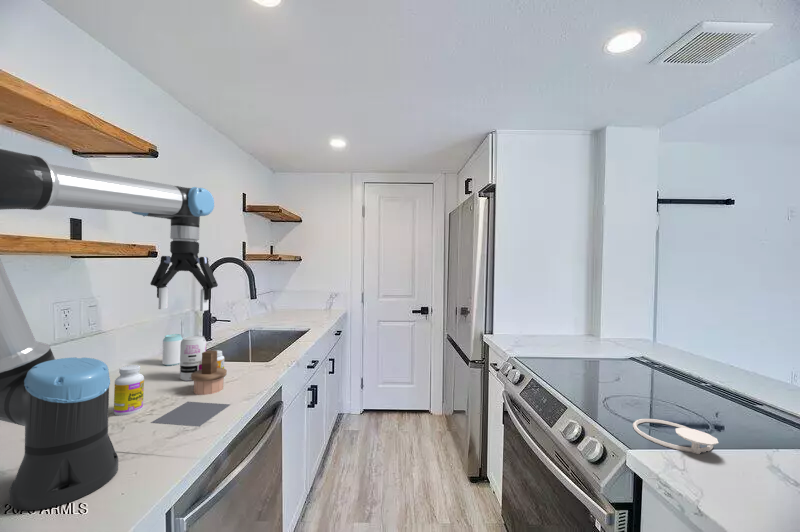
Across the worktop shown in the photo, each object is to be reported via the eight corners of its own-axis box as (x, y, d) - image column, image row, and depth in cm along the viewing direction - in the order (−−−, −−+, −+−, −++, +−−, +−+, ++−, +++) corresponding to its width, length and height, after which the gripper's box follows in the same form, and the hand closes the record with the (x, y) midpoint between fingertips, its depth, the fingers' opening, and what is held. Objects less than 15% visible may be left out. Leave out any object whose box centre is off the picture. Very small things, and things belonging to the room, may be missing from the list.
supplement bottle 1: (126, 418, 94) (127, 371, 94) (107, 415, 95) (108, 369, 95) (149, 408, 100) (150, 364, 100) (130, 405, 102) (131, 362, 101)
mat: (199, 427, 89) (199, 426, 89) (150, 424, 91) (150, 422, 91) (230, 405, 103) (230, 404, 103) (187, 402, 104) (187, 401, 104)
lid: (213, 382, 109) (214, 356, 109) (183, 380, 110) (184, 355, 110) (232, 372, 119) (233, 348, 119) (205, 370, 120) (205, 347, 120)
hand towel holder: (678, 408, 100) (748, 445, 79) (677, 423, 100) (747, 464, 79) (619, 406, 100) (674, 442, 80) (619, 420, 100) (673, 461, 80)
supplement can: (199, 372, 132) (200, 334, 132) (209, 377, 128) (210, 337, 127) (175, 378, 126) (176, 337, 126) (185, 383, 121) (186, 341, 121)
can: (186, 362, 145) (187, 334, 145) (172, 366, 139) (173, 337, 138) (172, 360, 147) (173, 333, 147) (158, 365, 140) (158, 336, 140)
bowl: (212, 396, 110) (213, 381, 110) (187, 394, 111) (188, 379, 111) (228, 386, 118) (228, 372, 118) (205, 385, 119) (205, 371, 119)
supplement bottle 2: (203, 381, 123) (204, 353, 123) (212, 376, 129) (213, 349, 129) (218, 382, 123) (218, 353, 123) (227, 376, 128) (227, 350, 128)
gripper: (230, 242, 107) (229, 309, 107) (157, 240, 109) (155, 306, 109) (215, 240, 99) (214, 312, 100) (137, 239, 102) (135, 309, 102)
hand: (183, 309), depth 104 cm, fingers open, 13 cm apart
